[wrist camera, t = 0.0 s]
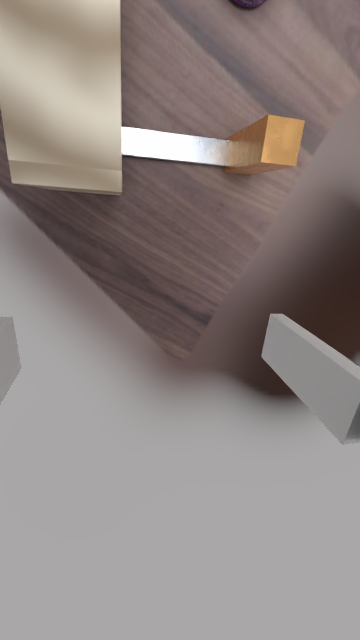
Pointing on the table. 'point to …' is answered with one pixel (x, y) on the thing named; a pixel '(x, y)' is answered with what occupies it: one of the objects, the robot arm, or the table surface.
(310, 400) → the robot arm
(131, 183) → the table surface
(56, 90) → the wooden shelf
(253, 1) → the beverage can
